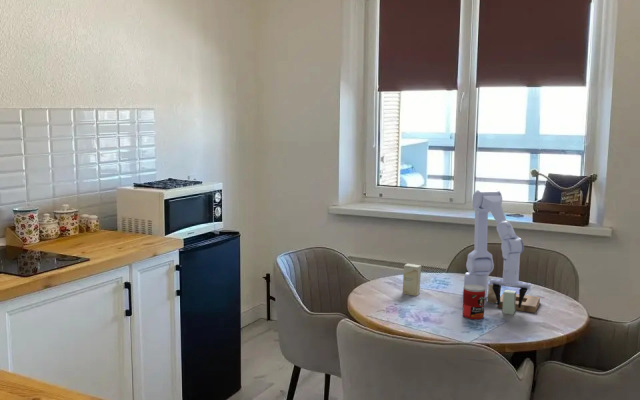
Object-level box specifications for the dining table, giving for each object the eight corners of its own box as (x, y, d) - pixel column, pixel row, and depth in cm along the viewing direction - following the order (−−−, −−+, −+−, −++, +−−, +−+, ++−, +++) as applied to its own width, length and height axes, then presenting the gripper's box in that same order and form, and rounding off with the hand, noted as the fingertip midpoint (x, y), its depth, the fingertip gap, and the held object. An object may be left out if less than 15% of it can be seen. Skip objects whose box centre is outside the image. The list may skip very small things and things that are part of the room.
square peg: (502, 313, 229) (503, 292, 228) (504, 310, 232) (505, 289, 231) (513, 314, 227) (514, 293, 226) (515, 311, 231) (516, 291, 230)
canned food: (472, 320, 219) (473, 291, 218) (457, 314, 227) (458, 285, 225) (488, 317, 223) (490, 288, 222) (473, 311, 230) (474, 283, 229)
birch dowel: (486, 302, 241) (487, 285, 240) (488, 300, 244) (489, 283, 244) (495, 304, 240) (496, 286, 239) (497, 301, 243) (498, 284, 242)
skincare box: (402, 293, 252) (403, 265, 250) (406, 291, 256) (407, 263, 254) (416, 296, 249) (417, 267, 247) (420, 293, 253) (421, 265, 251)
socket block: (497, 307, 236) (497, 301, 235) (503, 297, 248) (503, 292, 248) (535, 312, 229) (535, 306, 229) (539, 302, 242) (540, 297, 242)
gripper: (489, 270, 227) (487, 305, 229) (529, 275, 221) (527, 311, 223) (492, 266, 233) (491, 300, 235) (532, 270, 227) (530, 306, 229)
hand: (509, 305), depth 229 cm, fingers open, 7 cm apart
